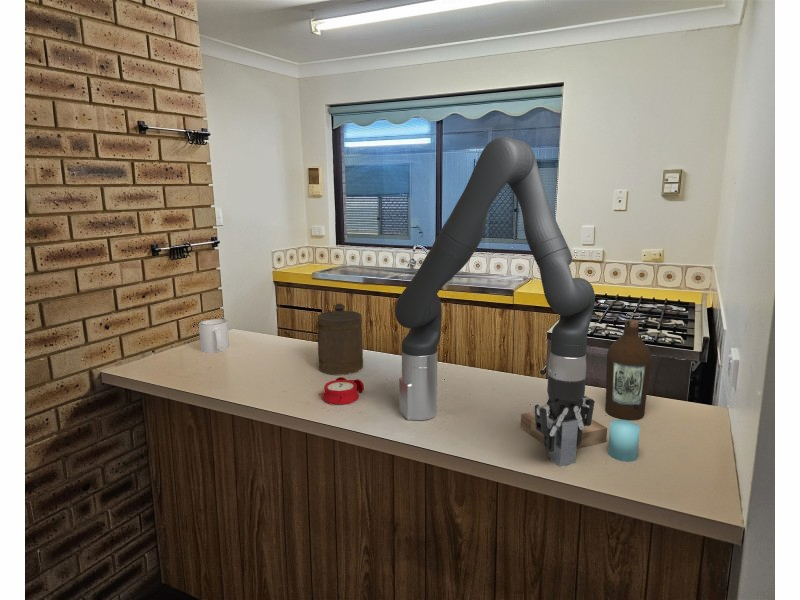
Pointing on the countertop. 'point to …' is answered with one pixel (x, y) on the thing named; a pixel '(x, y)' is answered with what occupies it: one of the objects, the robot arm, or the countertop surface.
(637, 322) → the brown bottle
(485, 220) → the robot arm
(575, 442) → the square peg
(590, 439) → the socket block
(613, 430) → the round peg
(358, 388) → the alarm clock
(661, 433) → the countertop surface
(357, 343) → the wooden container
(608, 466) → the countertop surface
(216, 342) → the mug
